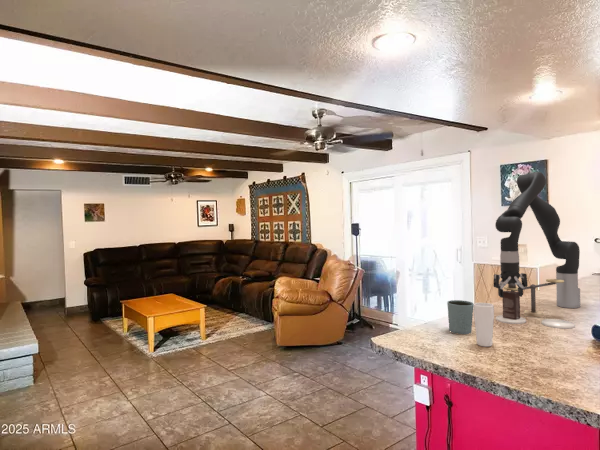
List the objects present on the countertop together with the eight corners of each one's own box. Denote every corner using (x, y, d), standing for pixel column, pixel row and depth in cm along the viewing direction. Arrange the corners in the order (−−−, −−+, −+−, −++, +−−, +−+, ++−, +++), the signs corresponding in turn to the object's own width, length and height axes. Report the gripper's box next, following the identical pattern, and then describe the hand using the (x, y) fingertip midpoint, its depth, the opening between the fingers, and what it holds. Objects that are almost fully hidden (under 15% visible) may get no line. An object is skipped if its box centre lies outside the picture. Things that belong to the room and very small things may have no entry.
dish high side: (562, 320, 176) (562, 318, 176) (581, 328, 164) (581, 325, 164) (535, 321, 176) (535, 319, 176) (553, 329, 164) (553, 326, 164)
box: (520, 318, 178) (520, 291, 178) (516, 320, 176) (515, 293, 175) (506, 316, 183) (506, 290, 183) (502, 317, 180) (501, 291, 180)
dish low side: (516, 316, 185) (516, 314, 185) (531, 323, 173) (531, 321, 173) (490, 317, 185) (490, 315, 185) (504, 324, 173) (504, 322, 173)
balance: (564, 316, 184) (563, 279, 183) (565, 319, 178) (564, 281, 177) (504, 311, 196) (504, 276, 196) (504, 314, 190) (503, 278, 190)
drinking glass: (493, 342, 149) (492, 302, 148) (495, 348, 142) (495, 306, 142) (473, 341, 151) (472, 302, 151) (475, 347, 144) (474, 305, 144)
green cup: (447, 327, 171) (446, 299, 171) (472, 328, 168) (472, 300, 168) (448, 334, 161) (447, 304, 161) (475, 335, 158) (475, 305, 158)
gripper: (520, 259, 183) (521, 294, 183) (489, 260, 182) (490, 295, 183) (530, 261, 175) (531, 297, 176) (498, 262, 175) (499, 299, 175)
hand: (510, 296), depth 179 cm, fingers open, 8 cm apart
